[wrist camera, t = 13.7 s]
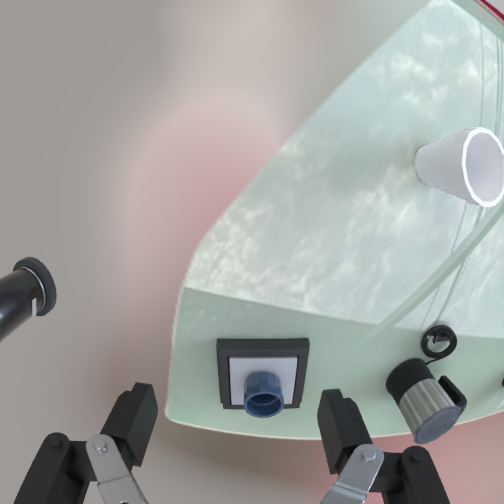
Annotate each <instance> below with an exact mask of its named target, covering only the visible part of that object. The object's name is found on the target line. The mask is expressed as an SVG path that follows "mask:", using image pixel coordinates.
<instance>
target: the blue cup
mask: <svg viewBox="0 0 504 504" xmlns="http://www.w3.org/2000/svg"><path fill="white" fill-rule="evenodd" d="M283 407H284V398H283V391H282V384H281V381H280V379H279V377H277V376H276V375H275V374H272V373H269V372H258V373H255V374H252V375H251V376H249V377H248V378H247V379H246V381H245V382H244V409H245V410H246V412H247V413H248V414H250V415H252V416H255V417H259V418H267V417H271V416H274V415H276V414H278V413H279V412H280V411H281V410H282V409H283Z"/></svg>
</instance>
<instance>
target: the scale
mask: <svg viewBox="0 0 504 504" xmlns="http://www.w3.org/2000/svg"><path fill="white" fill-rule="evenodd" d="M216 346H217V361H218V375H219V387H220V399H221V403H223V409H244V405H235V404H232V402H231V383H230V361H229V358H230V356H237V357H271V356H297V367H296V375H295V383H294V391H293V399H292V404H284V407H283V409H289V408H299V407H300V402H301V401H302V395H303V388H304V382H305V375H306V368H307V361H308V354H309V346H310V343H309V340H308V338H301V339H217V344H216Z"/></svg>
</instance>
